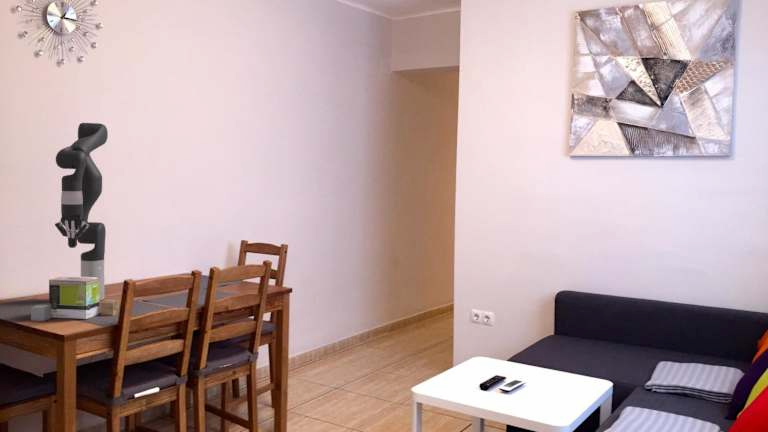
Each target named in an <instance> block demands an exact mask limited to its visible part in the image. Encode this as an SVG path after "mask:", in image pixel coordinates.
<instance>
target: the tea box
mask: <svg viewBox="0 0 768 432" xmlns="http://www.w3.org/2000/svg"><path fill="white" fill-rule="evenodd" d="M48 299H49V302H48V305H51V306H52V318H54V319H55V318H56V319H57V318H58V319H60V318H61V319H75V320H76V319H79V320H88V319H90V318H93V317H95V316H98V315H100V307H101V301H100V300H99V277H81V276H73V275H71V276H70V275H62V276H59V277H54V278H52V279H51V278H50V279H49V280H48Z"/></svg>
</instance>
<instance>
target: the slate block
mask: <svg viewBox="0 0 768 432" xmlns="http://www.w3.org/2000/svg"><path fill="white" fill-rule="evenodd" d="M52 318H53V317H52V306H51V305H49V304H40V303H39V304H36V305H34V306H30V321H35V322H36V321H37V322H38V321H39V322H45V321H47V320H50V319H52Z"/></svg>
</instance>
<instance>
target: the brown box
mask: <svg viewBox="0 0 768 432" xmlns="http://www.w3.org/2000/svg"><path fill="white" fill-rule="evenodd" d="M119 313H120V300H119V299H105V300H104V301H100V315H101V316H115V315H117V314H119Z"/></svg>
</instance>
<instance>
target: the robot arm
mask: <svg viewBox="0 0 768 432" xmlns="http://www.w3.org/2000/svg"><path fill="white" fill-rule="evenodd" d="M108 135H109V134H108V128H107V126H106V125H105V124H103V123H98V122H97V123H96V122H81V123H79V125H78V127H77V140H75V141H74V142H73V143H72V144H71V145H70V146H65V148H64V147H63V148H62V149H60V150H58V151H57V154H56V155H55V164H56V165H57V167H59V168H61V169H63V170H64V169H65V170H66V169H67V170H74V172H73V173H72V174H66V175H63V176H61V194H60V205H61V207H60V211H61V212H60V215H61V217H60V220H59V221H58V222H56V223H55V224H54V226H55V227H56V229H57V231H59V232H60V234H61V235H62V236H63V237H65V238H66V237H67V245H68V247H69V248H70V249H74V248H76V246H78V243H79V244H83V245H84V244H85V245H87V244H88V245H94V246H93V248H91V249H90V250H88V251H83V252H82V253H81V254H80V277H99V301H102V300H104V299H105V252H106V250H105V249H106V234H107V233H106V230H107V229H106V225H105V224H104V223H102V222H97V221H95V222H94V221H93V222H90V221H89V214H90V212H91V210H92V208H93V206H94V205H95V204H96V202H97V201H98V199H99V197H100V196H101V195H102V192H103V175H102V173H101V171H100V169H99V168H98V167H97V165H96V163H95V162H94V160H93V159H92V157H91V153H93V152H94V150H97V149H98V148H100V147H102V146H103V145H105V144H106V142H107V140H108Z"/></svg>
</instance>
